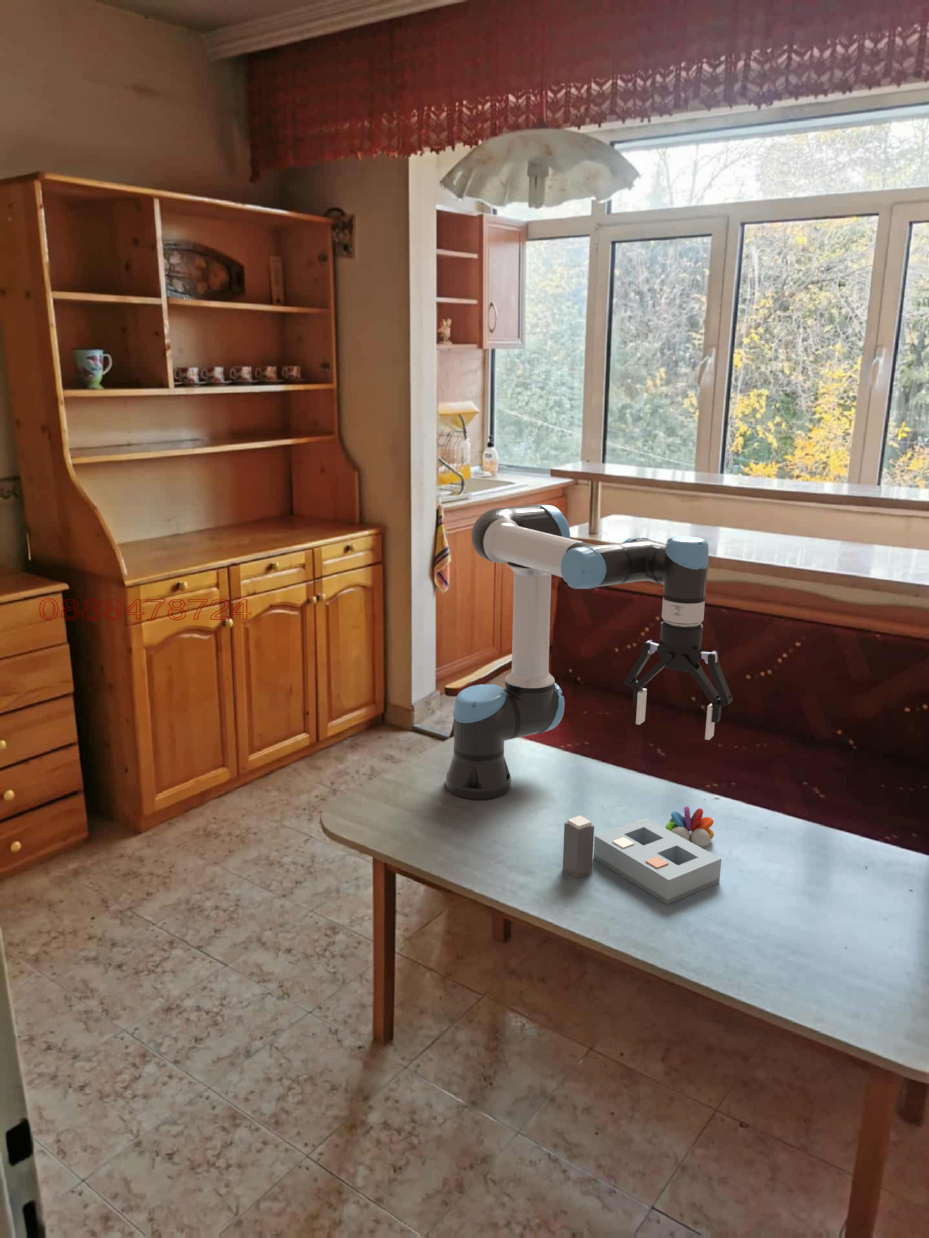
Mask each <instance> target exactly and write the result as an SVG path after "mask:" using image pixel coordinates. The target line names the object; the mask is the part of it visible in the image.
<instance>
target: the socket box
mask: <svg viewBox="0 0 929 1238" xmlns="http://www.w3.org/2000/svg"><path fill="white" fill-rule="evenodd" d="M593 859H594V860H595V861H598V862H599V863H601V864H602V865H604V866H605V867H606V868H609V869H610V870H612V871H613V872H615V873H616V874H618V875H619V876H621V877H622V878H624V879H626V880H627V881H628V882H630V883H632V884H633V885H635V886H637V887H638V888H640V889H642V890H643V891H645V892H647V893H648V894H650V895H651V896H653V897H655V899H658V900H659V901H661V902H662V903H664V904H665V905H670V904H672V903H674V902H677V901H679V900H681V899H684V898H686V897H688V896H691V895H693V894H696V893H697V892H700V891H702V890H704V889H707V888H709V887H711V886H715V885H717V884H719V883H720V880H721V879H720V878H721V867H722V857H719V856H717V855H715V854H714V853H712V852H710V851H709V850H706V849H704V847H702V848H701V847H699V846H697V845H695V844H693V843H692V842H691V840H689V841H688V840H686V839H684V838H682V837H680V836H679V835H677V834H675V833H673V832H671V831H669V830H668V829H666V827H664V826H663V825H660V824H658V823H656V822H655V821H653V820H650V819H649V818H647V817H644V818H640V819H638V820H634V821H631V822H629V823H626V824H623V825H620V826H619V827H614V828H612V829H609V830H607V831H604V832H600V833H599V834H594V840H593Z"/></svg>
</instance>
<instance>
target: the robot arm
mask: <svg viewBox="0 0 929 1238" xmlns="http://www.w3.org/2000/svg"><path fill="white" fill-rule="evenodd" d="M470 537H471V539H470V540H471V544H472V547H473V549H474V550H475V553H477V555H479V556H480V557H481V558H482V559H484V560H486V561H490V562H493V563H496V564H506V565H507V566H508V568H510V570H511V571H512V572H513V584H512V585H513V587H512V588H513V591H512V592H513V593H512V595H513V596H512V637H511V638H512V640H511V641H512V643H511V645H512V646H511V648H512V649H511V654H512V655H511V672H509V673H508V674H507V675H505V678H504V679H505V680H504V688H503V687H502V686H500V685H497V684H494V683H493V684H492V683H487V684H483V683H480V684H476V685H471V686H468V687H466V688H464V689H462V690H461V691H459V693H457V695H456V697H455V699H454V705H453V713H452V715H453V756H452V757H451V762H450V765H449V768H448V771H447V773H446V775H445V788H446V789H447V791H448V792H450V793H451V794H452V795H455V796H457V797H460V798H463V799H469V800H470V799H471V800H491V799H495V798H499V797H502V796H504V795H505V794H507V793H508V792H509V791H510V790H511V788H512V787H511V786H512V785H511V783H512V778H511V773H510V771H509V767H508V764H507V762H506V758H505V741H508V740H514V739H518V738H523V737H528V736H532V735H537V734H538V735H540V734H544V733H545V732H548V731H551V730H554V729H555V728H556V727H557V726H559V724H560V723H561V721H562V719H563V717H564V712H565V697H564V696H563V695H562V694H563V691H562V688H561V687H560V686H559V685H558V683H556V682H555V677H554V676H553V675H552V674H551V673H550V672H549V667H550V665H549V663H550V662H549V661H550V660H549V659H550V633H551V632H550V631H551V598H552V575H553V576H556V577H560V578H562V579H563V581H564V582H565V583H566V584H567V586H568V587H570V588H571V589H575V590H576V589H577V590H578V589H579V590H581V589H586V590H590V589H594V588H600V587H606V586H614V585H620V584H628V583H629V584H630V583H635V582H652V583H656V584H658V585H662V586H663V590H662V591H663V592H662V609H661V618H662V619H663V620H662V621H661V622H660V633H659V634H660V635H659V643H656V642H654V640H652V639H649V640H647V641H646V642H644V643H643V644H642V648H641V653H640V655H639V657H637V660H636V661H635V663H634V665H633V666H632V667H631V669H630V671H629V673H628V674H627V676H626V677H625V679H624V681H623V684H624V686H626V687H629V688H631V689H632V691H633V693H632V706H634V707H636V717H635V724H636V725H639V726H640V725H641V724H642V723H644V722H645V721H646V710H647V695H648V692H647V691H648V689H647V688H644V686H646V684H648V682H650V681H651V680H653V678H654V677H655V676H656V675H657V674H659V672H661V670H663V669H664V668H665V667H666V668H667V669H668V670H670V671H678V672H680V673H684V674H685V673H686V672H688V674H689V675H690V676H691V677H692V678H694V680H695V681H696V683H697V684H698V686H699V687H700V689H701V690H702V692H703V694H704V695H705V697H706V698H707V699H708V701H709V702H710V704H709V705H708V704H707V708H706V709H707V711H706V721H705V733H704V734H705V735H704V740H707V741H710V740H711V739H712V738H713V737H714V735H715V724H718V723H719V722H720V720H721V717H722V706H729V704H731V702H733V700H734V699H733V696H732V694H731V691H730V688H729V685H728V684H727V681H726V678H725V675H724V673H723V670H722V667H721V665H720V661H719V658H720V657H719V652H718V651H717V650H712V651H711V652H710V651H703V649H702V643H703V630H704V626H703V625H704V624H702V622H703V621H705V620H704V618H705V607H706V606H705V603H706V601H705V600H706V590H707V589H706V588H707V579H708V578H707V577H708V570H709V566H710V565H709V564H710V560H709V543H708V541H707V540H706V539H705V538H702V537H699V536H690V535H676V536H671V537H669V538H668V539H667V541H666V543H665V542H660V541H657V540H653V539H649V538H648V537H636V536H633V537H628V538H627V539H625V541H622V542H620V543H612V544H610V543H609V544H593V543H588V542H584V541H581V540H577V539H573V538H571V531H570V526H569V522H568V520H567V519H566V517H565V516H564V514H563V512H562V511H561V510H560V509H559V508H558V507H556V506H554V505H552V504H551V505H550V504H530V505H527V504H526V505H519V506H507V507H496V508H493V509H489V510H488V511H486V512H484V513H482V514H481V515H480V516H479V517H478V518H477V519H476V520H475V522H474V524H473V526H472V528H471V535H470ZM655 652H657V653H658V655H659V657H660V660H659V661H658V662H657V663H656V664H655V665H654V666H652V668H651V669H650V670H649V671H648V672H646V673H645V674H644V675H643V676H642V677H641V678H640V679H639V680H637V678H638V677H639V675H640V674H641V672H642V670H643V668H644V666H645V665H646V663H647V662H648V660H649V659H650V657H651V655H653V654H654V653H655ZM702 659H703V660H704V662H705V664H707V667H708V670H709V673H710V676H711V679H712V680H713V683H714V685H713V683H712V682H711V680H710V679H709V677H708V676H707V675H706V673H705V671H704V668H703V666H702V665H701V663H700V661H701V660H702Z"/></svg>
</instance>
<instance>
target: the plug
mask: <svg viewBox="0 0 929 1238" xmlns="http://www.w3.org/2000/svg"><path fill="white" fill-rule="evenodd" d="M563 827H564V829H563V830H564V831H563V834H564V835H563V850H562V853H563V855H562V871H564V872H565V873H566V874H568V875H570V876H571V877H573V878H574V879H579V878H582V877H584V876H588V875H590V874H593V859H594V839H595V825H594V824H592V821H590V820H589V819H587V818H586V817H584V816H582V815H577V816H574V817H571V818H568V819H567V822H566V821H565V822H564V825H563Z"/></svg>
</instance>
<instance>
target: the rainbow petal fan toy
mask: <svg viewBox="0 0 929 1238" xmlns="http://www.w3.org/2000/svg"><path fill="white" fill-rule="evenodd" d="M683 809H684V811H683V812H684V815H681V814H680V812H678V811H674V810H673V811H671V818H670V819H669V822H668V823H666V826H665V828H666V829H668V830H669V831H671V832H673V833H675V834H677V835H679V836H680V837H682V838H684V839H686V840H688V841H690V842H692V843H693V844H695V845H697V846H699V847H701V848H706V847H707V846H708V845H709V844H710V843H711V840H712V839H713V838H714V831H713V830H712V829H711V828H712V826H713V824H714V819H713V818H712V817H708V816H705V817H703V815H704V810H703V809H702V808H700V807H699V808H697V809H696V810H695V811H694V813H693V814H692V816H691V814H690V813H691V811H690V807H689V806H686V805H685V806H684V808H683ZM710 827H711V828H710ZM690 832H691V833H690Z"/></svg>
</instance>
